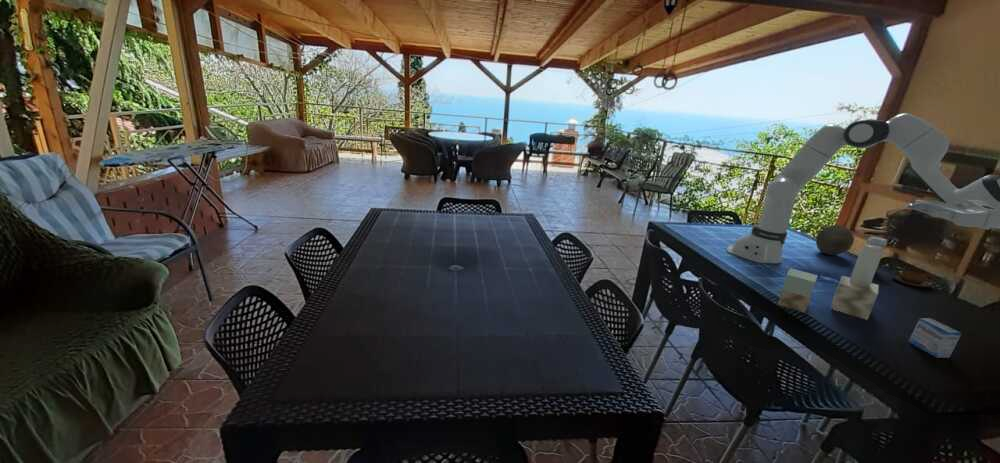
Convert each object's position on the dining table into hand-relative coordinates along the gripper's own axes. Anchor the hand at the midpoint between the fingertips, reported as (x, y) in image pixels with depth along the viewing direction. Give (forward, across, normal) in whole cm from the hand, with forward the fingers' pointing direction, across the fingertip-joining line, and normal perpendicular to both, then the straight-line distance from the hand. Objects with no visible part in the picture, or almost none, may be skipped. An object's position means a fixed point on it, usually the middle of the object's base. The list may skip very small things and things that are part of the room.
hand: (919, 209), depth 131 cm
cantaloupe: (-12, -55, +37) cm, 67 cm away
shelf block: (+15, +7, +36) cm, 40 cm away
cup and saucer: (-28, -28, +37) cm, 54 cm away
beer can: (-18, -39, +37) cm, 56 cm away
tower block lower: (+34, +9, +36) cm, 50 cm away
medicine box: (+6, +29, +37) cm, 47 cm away
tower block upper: (+34, +9, +30) cm, 46 cm away
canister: (+15, +7, +26) cm, 31 cm away
